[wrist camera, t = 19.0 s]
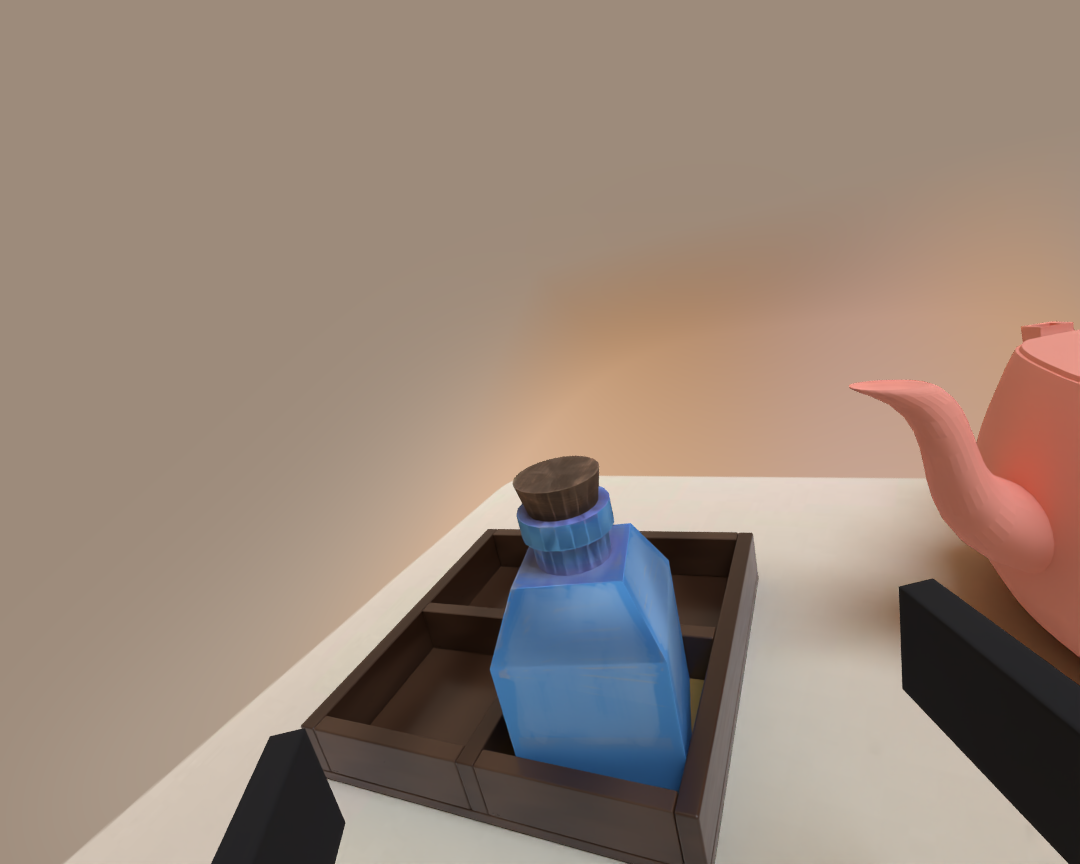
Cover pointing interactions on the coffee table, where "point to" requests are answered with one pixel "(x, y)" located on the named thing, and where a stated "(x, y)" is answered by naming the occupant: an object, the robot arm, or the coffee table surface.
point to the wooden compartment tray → (479, 725)
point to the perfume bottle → (591, 637)
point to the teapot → (1011, 471)
